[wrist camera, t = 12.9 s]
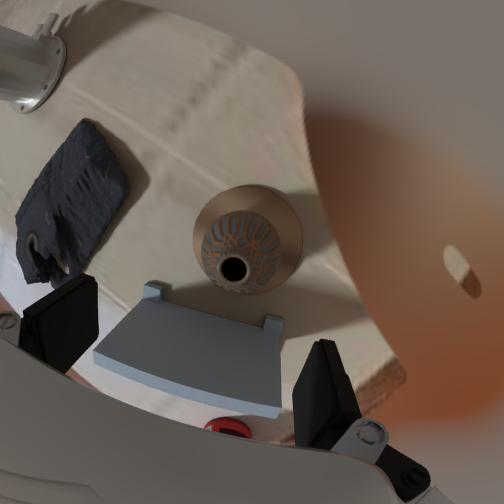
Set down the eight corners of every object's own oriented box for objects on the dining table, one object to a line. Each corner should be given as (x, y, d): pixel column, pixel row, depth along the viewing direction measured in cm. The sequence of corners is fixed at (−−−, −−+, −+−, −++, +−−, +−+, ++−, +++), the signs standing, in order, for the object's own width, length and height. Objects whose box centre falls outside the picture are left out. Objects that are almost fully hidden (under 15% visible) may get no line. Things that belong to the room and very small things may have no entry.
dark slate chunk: (155, 200, 28) (135, 205, 24) (63, 301, 33) (43, 315, 28) (89, 109, 26) (65, 102, 21) (14, 222, 30) (-7, 229, 26)
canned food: (207, 442, 37) (195, 494, 27) (199, 414, 35) (182, 471, 25) (253, 445, 37) (248, 499, 26) (251, 417, 35) (244, 478, 24)
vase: (288, 216, 27) (296, 234, 18) (270, 281, 28) (269, 324, 20) (219, 199, 27) (195, 209, 18) (205, 264, 28) (179, 300, 20)
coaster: (206, 175, 27) (205, 175, 26) (314, 202, 27) (315, 203, 26) (186, 276, 30) (184, 278, 29) (284, 302, 30) (285, 304, 29)
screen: (147, 281, 30) (91, 334, 19) (284, 318, 30) (288, 393, 18) (144, 318, 31) (96, 376, 20) (271, 353, 31) (270, 430, 20)
